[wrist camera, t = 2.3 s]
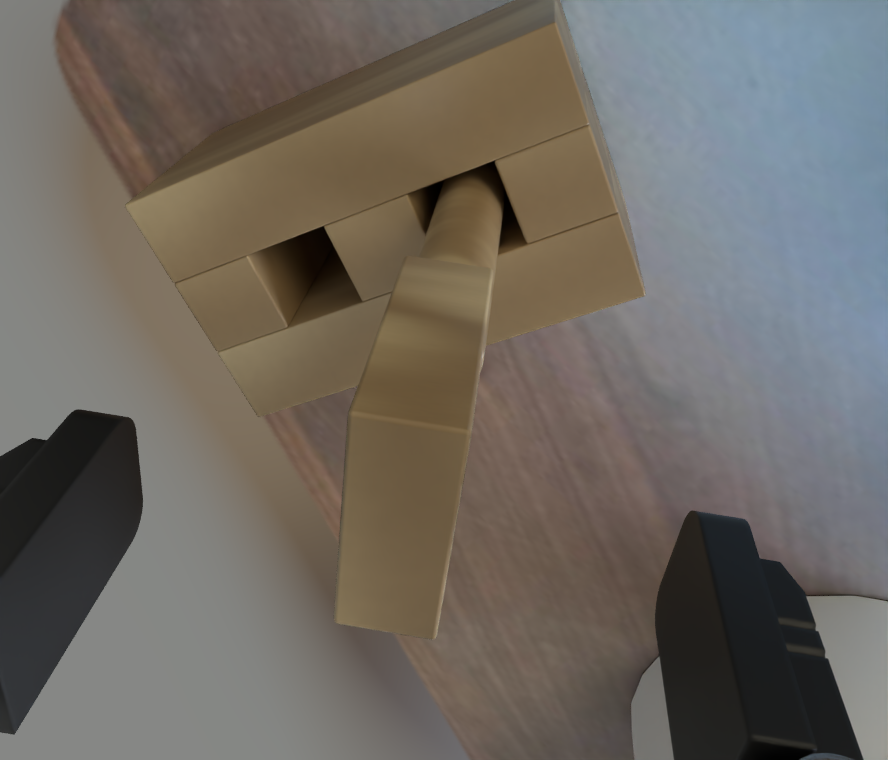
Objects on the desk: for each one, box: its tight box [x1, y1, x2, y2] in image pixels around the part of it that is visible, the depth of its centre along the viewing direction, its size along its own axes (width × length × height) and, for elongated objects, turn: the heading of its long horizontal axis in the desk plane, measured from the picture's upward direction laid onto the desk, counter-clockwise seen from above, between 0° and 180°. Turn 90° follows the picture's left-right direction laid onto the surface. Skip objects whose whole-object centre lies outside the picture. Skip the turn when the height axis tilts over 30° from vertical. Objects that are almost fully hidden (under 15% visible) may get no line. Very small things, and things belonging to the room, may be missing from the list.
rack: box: [125, 0, 646, 417], centre depth 25 cm, size 7×12×7 cm, turn 113°
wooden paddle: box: [334, 160, 506, 640], centre depth 19 cm, size 2×4×19 cm, turn 173°
